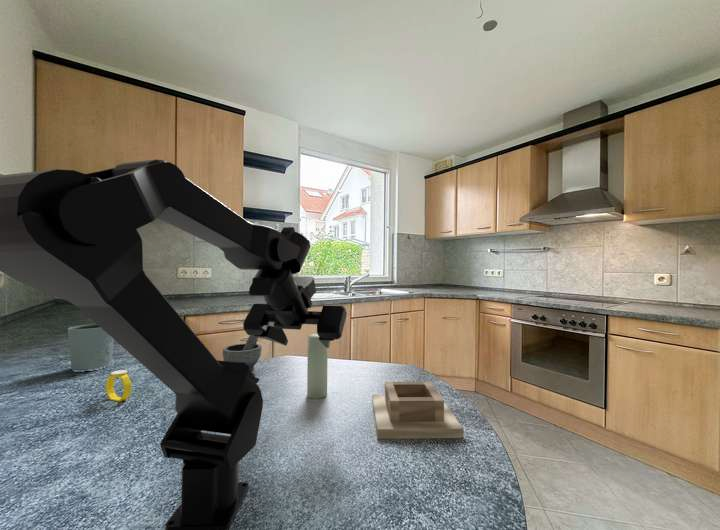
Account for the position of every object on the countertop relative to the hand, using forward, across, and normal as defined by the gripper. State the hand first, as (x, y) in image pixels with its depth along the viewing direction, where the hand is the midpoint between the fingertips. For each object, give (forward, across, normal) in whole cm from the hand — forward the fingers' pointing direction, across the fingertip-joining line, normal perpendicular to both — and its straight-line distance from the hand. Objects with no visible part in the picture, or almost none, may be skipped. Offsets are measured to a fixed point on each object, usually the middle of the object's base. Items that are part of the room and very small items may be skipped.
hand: (307, 344), depth 60 cm
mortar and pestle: (+20, +25, -2) cm, 32 cm away
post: (+13, 0, +5) cm, 14 cm away
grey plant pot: (+15, +70, +3) cm, 71 cm away
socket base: (+8, -21, +9) cm, 24 cm away
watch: (+4, +40, +13) cm, 43 cm away
